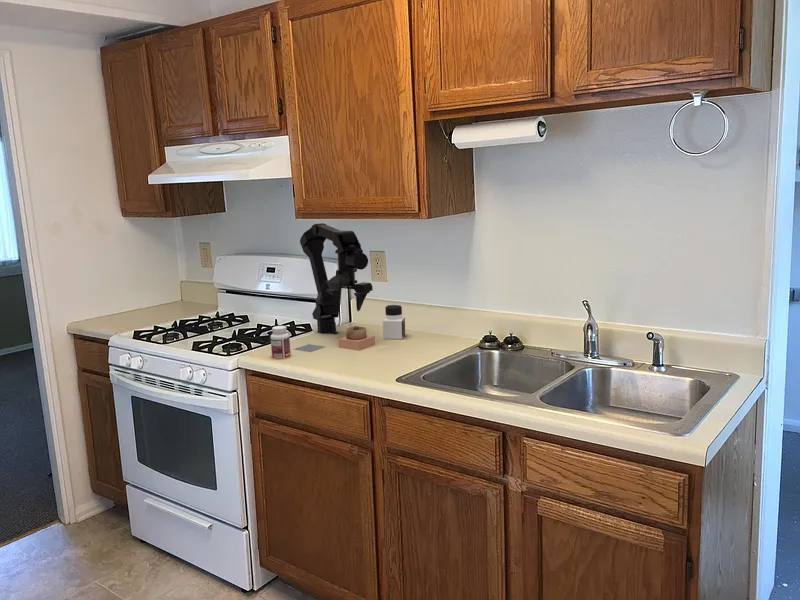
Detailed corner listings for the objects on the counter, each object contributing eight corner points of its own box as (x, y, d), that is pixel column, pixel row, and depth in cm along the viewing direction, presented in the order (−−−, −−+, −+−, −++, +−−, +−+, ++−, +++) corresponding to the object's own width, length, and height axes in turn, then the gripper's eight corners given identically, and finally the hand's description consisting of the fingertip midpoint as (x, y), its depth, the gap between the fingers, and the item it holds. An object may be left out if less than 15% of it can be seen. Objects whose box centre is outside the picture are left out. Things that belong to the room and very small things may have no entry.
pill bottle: (287, 355, 238) (285, 324, 236) (293, 360, 233) (291, 327, 231) (269, 358, 235) (267, 326, 233) (275, 363, 230) (273, 330, 228)
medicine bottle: (402, 339, 256) (401, 307, 254) (383, 339, 257) (382, 307, 255) (405, 334, 263) (404, 303, 260) (386, 334, 264) (385, 303, 262)
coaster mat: (293, 352, 243) (293, 349, 243) (308, 346, 249) (308, 344, 249) (310, 354, 239) (310, 352, 238) (326, 349, 245) (326, 346, 245)
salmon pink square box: (338, 350, 244) (338, 338, 243) (354, 344, 251) (354, 333, 250) (359, 353, 239) (358, 341, 238) (375, 347, 246) (374, 336, 245)
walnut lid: (342, 338, 243) (341, 327, 242) (354, 334, 249) (354, 323, 248) (358, 340, 239) (357, 330, 239) (370, 336, 245) (370, 325, 244)
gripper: (311, 268, 248) (313, 311, 251) (353, 271, 237) (355, 316, 240) (331, 264, 257) (333, 306, 260) (372, 267, 246) (374, 310, 249)
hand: (348, 309), depth 252 cm, fingers open, 9 cm apart
